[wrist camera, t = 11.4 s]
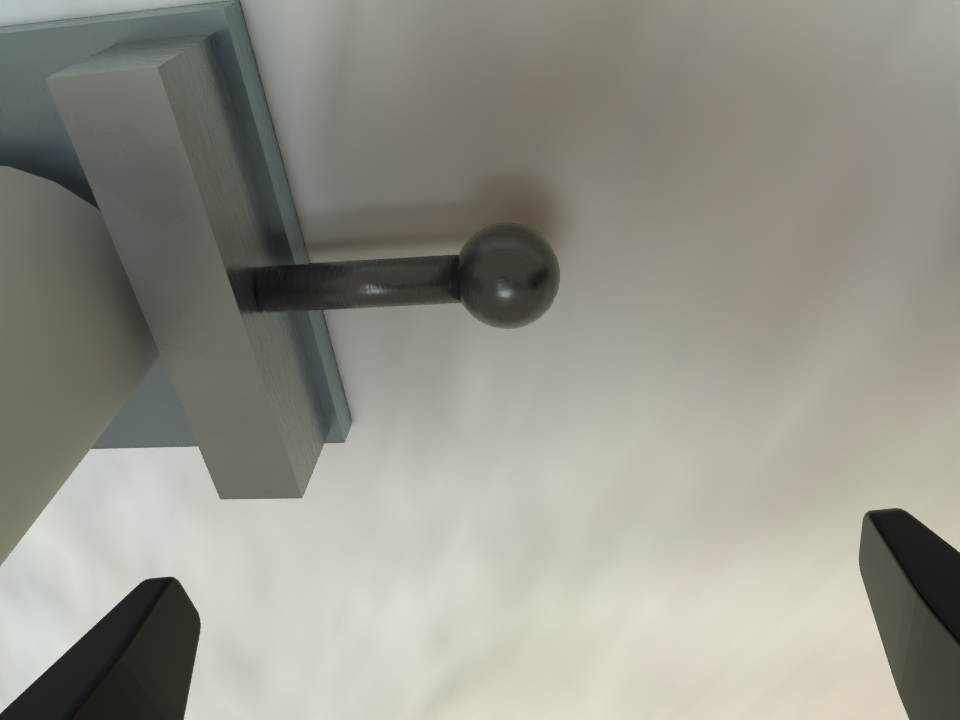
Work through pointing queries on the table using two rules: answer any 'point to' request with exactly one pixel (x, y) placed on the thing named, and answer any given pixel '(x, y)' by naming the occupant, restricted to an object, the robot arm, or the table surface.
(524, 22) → the table surface
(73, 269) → the can
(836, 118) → the table surface
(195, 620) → the robot arm
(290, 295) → the vise
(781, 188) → the table surface
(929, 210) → the table surface
